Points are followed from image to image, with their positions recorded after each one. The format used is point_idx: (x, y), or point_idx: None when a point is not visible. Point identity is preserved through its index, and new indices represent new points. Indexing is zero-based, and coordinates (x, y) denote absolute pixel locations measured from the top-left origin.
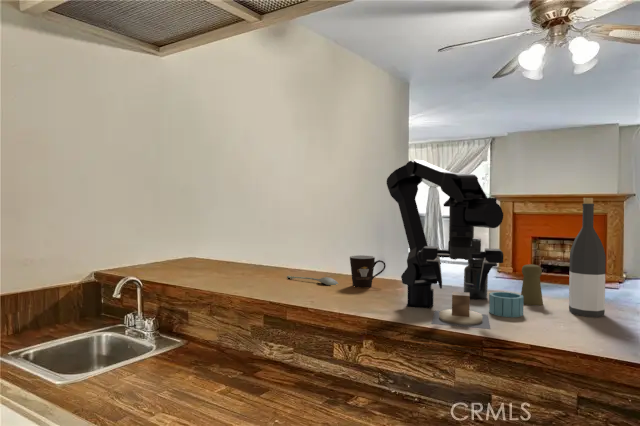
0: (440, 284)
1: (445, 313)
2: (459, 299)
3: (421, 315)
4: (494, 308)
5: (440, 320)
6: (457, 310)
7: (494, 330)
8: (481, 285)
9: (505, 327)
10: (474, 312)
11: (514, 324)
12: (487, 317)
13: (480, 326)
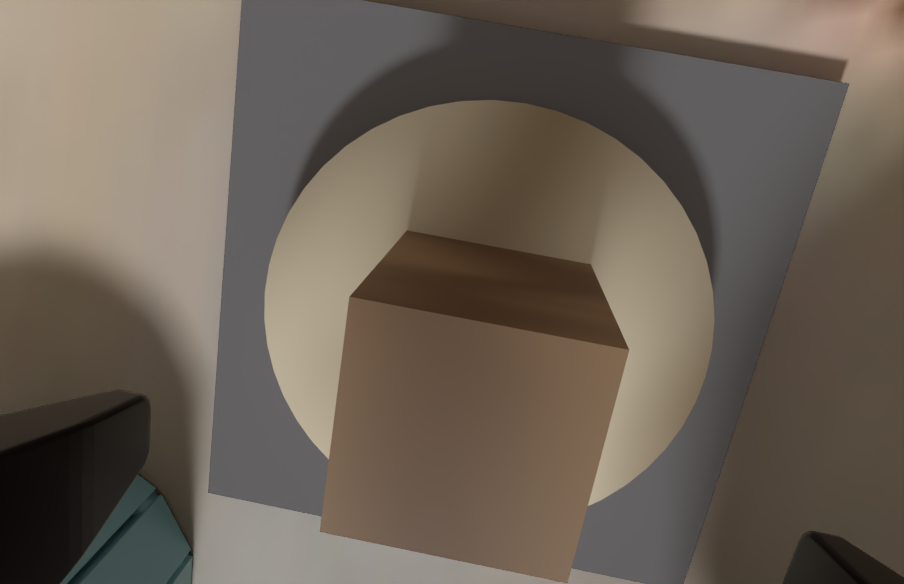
0: (878, 571)
1: (646, 339)
2: (510, 303)
3: (844, 461)
4: (118, 537)
5: (707, 236)
6: (533, 266)
7: (212, 4)
8: (55, 419)
9: (102, 134)
10: (326, 416)
11: (18, 250)
12: (222, 399)
13: (330, 56)
